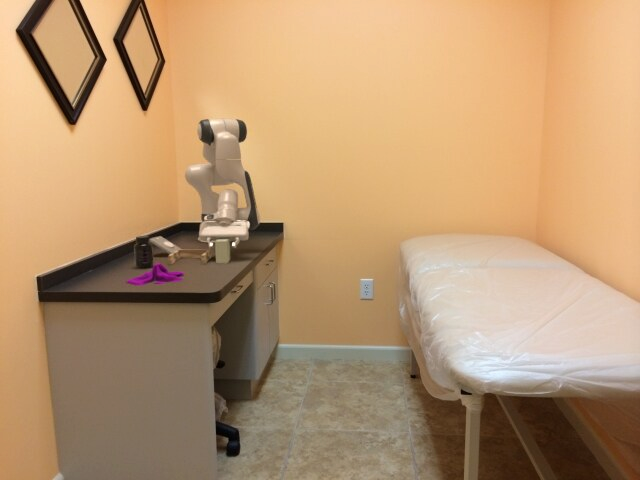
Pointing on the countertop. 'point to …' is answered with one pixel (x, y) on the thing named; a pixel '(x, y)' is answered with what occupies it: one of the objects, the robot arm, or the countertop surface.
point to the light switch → (164, 244)
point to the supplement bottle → (143, 252)
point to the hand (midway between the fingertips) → (222, 247)
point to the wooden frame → (190, 255)
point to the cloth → (156, 276)
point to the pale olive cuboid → (222, 250)
